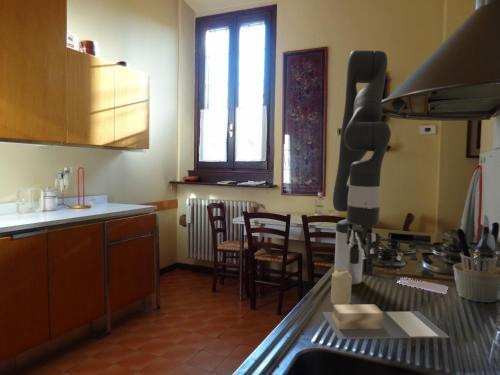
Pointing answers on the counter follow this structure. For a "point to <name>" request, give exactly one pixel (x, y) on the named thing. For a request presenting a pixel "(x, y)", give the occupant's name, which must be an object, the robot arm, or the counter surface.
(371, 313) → the cream block
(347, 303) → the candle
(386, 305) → the counter surface
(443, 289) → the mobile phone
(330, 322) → the mat
